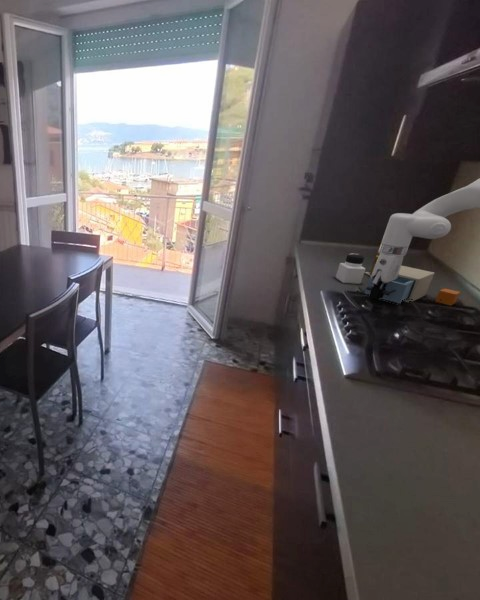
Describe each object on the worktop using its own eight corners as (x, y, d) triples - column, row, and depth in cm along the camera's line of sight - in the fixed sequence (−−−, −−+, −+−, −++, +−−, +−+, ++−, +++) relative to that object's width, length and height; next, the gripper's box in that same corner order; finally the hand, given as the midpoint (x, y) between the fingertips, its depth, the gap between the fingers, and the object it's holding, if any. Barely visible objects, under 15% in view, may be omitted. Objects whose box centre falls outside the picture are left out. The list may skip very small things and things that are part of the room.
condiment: (375, 278, 160) (384, 252, 156) (362, 272, 168) (370, 247, 163) (391, 278, 160) (401, 252, 156) (377, 272, 168) (386, 247, 163)
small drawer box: (409, 302, 135) (419, 279, 131) (371, 292, 145) (379, 269, 141) (425, 295, 142) (434, 272, 138) (387, 285, 152) (395, 264, 148)
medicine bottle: (361, 284, 154) (370, 257, 149) (342, 283, 155) (351, 256, 150) (352, 278, 160) (360, 252, 155) (335, 277, 161) (342, 252, 156)
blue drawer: (391, 308, 128) (398, 288, 125) (355, 297, 137) (362, 279, 134) (414, 297, 138) (421, 278, 134) (379, 288, 147) (386, 270, 143)
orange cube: (455, 303, 135) (460, 292, 133) (451, 305, 133) (456, 294, 131) (439, 299, 139) (444, 288, 137) (435, 301, 136) (439, 290, 135)
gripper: (395, 255, 118) (377, 305, 126) (415, 248, 126) (397, 296, 133) (370, 250, 124) (353, 298, 132) (390, 244, 132) (373, 290, 139)
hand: (375, 297), depth 132 cm, fingers closed
